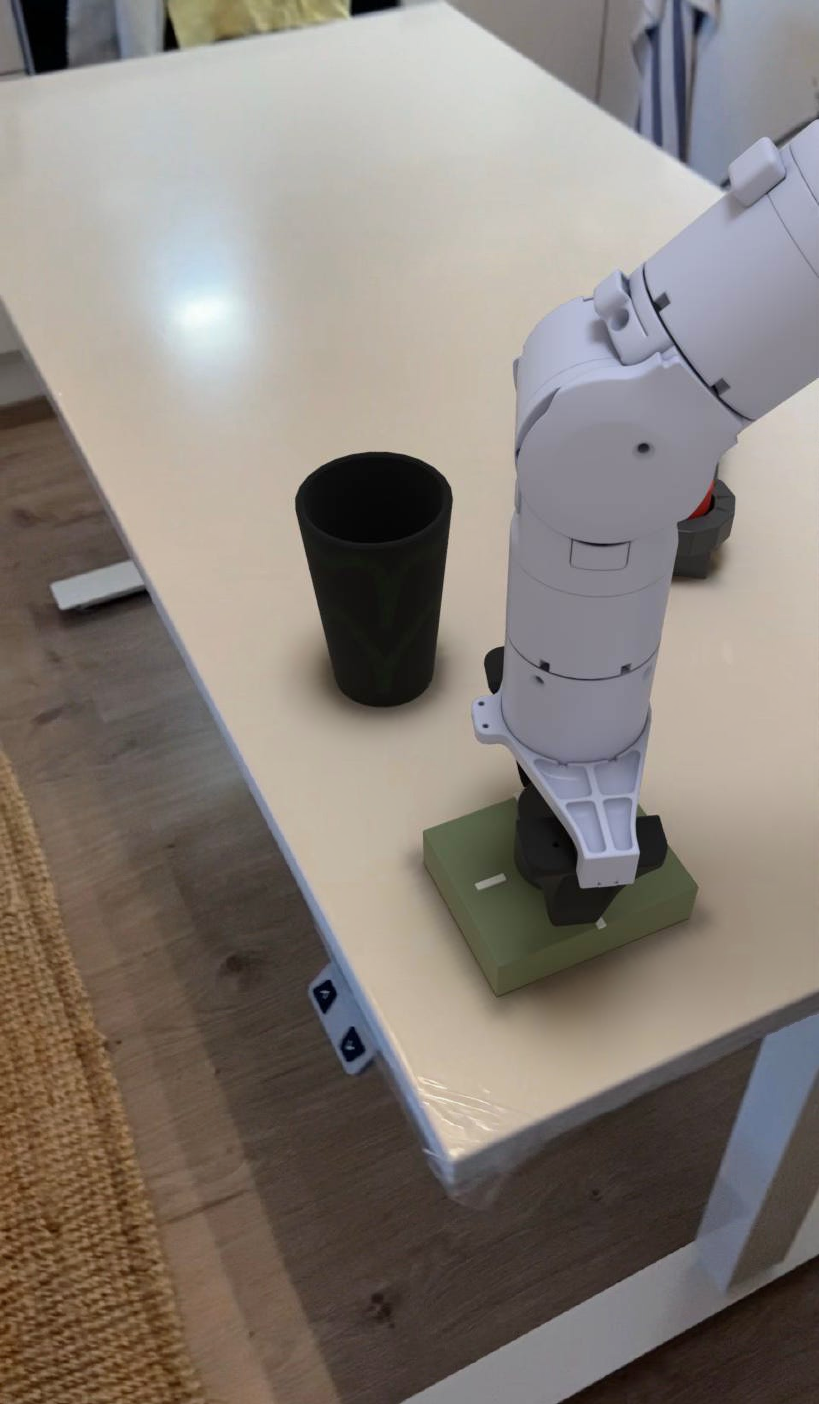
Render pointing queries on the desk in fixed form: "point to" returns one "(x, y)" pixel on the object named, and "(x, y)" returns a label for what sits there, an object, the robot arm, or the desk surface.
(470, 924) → the panel
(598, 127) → the desk surface
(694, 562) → the power block
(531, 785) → the timer dial
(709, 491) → the power button
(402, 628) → the cup
